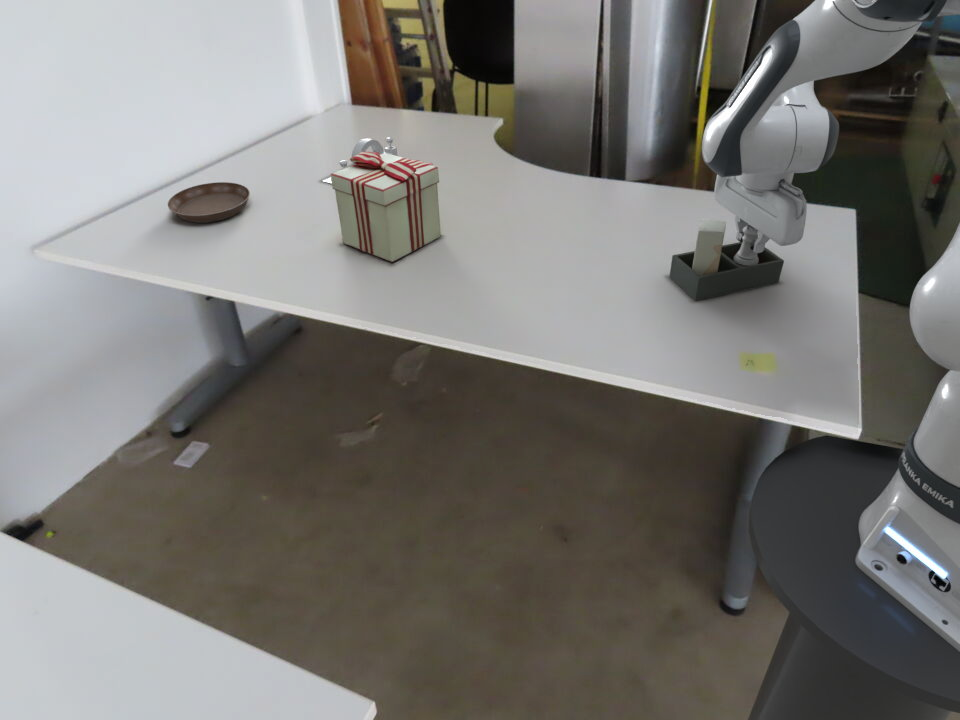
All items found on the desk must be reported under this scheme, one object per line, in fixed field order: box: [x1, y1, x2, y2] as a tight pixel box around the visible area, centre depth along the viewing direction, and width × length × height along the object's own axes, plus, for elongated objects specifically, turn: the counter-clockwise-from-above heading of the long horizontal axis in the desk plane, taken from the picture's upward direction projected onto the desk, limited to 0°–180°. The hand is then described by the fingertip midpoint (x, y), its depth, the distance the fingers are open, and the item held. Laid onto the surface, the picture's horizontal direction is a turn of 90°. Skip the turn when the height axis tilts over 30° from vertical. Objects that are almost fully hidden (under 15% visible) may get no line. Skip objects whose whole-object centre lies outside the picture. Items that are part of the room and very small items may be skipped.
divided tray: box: [669, 241, 785, 301], centre depth 124 cm, size 9×17×4 cm, turn 108°
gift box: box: [330, 151, 442, 263], centre depth 139 cm, size 17×18×17 cm
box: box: [692, 218, 727, 276], centre depth 121 cm, size 5×4×11 cm
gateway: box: [322, 136, 398, 185], centre depth 171 cm, size 20×2×8 cm, turn 147°
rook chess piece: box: [733, 223, 759, 267], centre depth 123 cm, size 4×4×8 cm
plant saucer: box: [167, 181, 251, 224], centre depth 157 cm, size 18×18×3 cm
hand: (749, 245), depth 123 cm, fingers closed on rook chess piece, 3 cm apart
